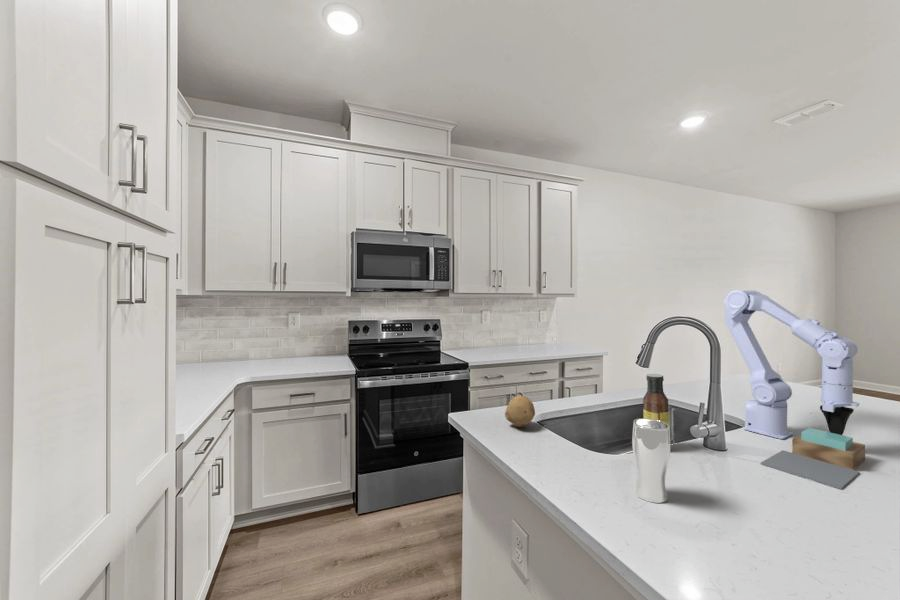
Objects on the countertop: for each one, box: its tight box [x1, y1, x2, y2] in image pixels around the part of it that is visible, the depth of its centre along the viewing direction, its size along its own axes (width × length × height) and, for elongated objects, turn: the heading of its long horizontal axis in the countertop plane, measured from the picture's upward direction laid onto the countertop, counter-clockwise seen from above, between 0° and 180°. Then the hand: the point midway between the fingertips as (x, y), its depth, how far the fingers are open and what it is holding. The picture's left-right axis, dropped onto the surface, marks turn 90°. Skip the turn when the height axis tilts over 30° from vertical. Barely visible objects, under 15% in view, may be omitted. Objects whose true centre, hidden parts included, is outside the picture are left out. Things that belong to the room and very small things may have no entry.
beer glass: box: [631, 418, 671, 504], centre depth 77 cm, size 7×7×15 cm
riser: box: [791, 433, 866, 470], centre depth 95 cm, size 11×10×4 cm
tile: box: [800, 427, 854, 451], centre depth 95 cm, size 8×6×2 cm
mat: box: [760, 450, 861, 490], centre depth 89 cm, size 14×14×1 cm
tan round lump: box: [504, 395, 536, 428], centre depth 116 cm, size 9×9×10 cm
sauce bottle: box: [642, 373, 671, 433], centre depth 101 cm, size 6×6×20 cm
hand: (836, 434), depth 99 cm, fingers closed
